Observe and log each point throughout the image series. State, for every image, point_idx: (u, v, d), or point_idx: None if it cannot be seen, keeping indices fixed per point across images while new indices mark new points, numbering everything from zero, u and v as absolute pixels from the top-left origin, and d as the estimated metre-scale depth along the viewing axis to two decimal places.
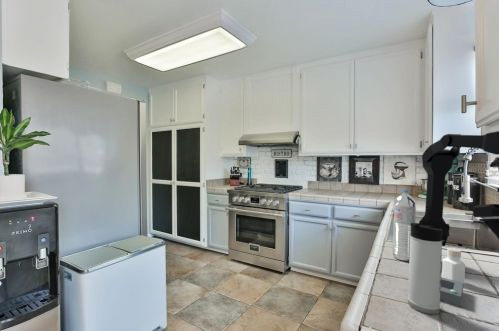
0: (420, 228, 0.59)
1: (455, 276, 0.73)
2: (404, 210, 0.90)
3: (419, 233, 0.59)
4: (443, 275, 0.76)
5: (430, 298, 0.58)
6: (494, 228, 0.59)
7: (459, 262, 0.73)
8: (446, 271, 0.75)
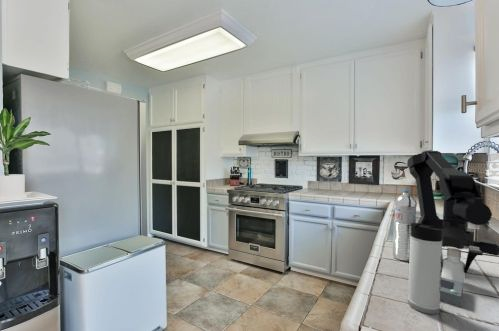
0: (420, 228, 0.59)
1: (455, 276, 0.73)
2: (405, 210, 0.90)
3: (419, 233, 0.59)
4: (443, 275, 0.76)
5: (430, 298, 0.58)
6: None
7: (459, 262, 0.73)
8: (446, 271, 0.75)
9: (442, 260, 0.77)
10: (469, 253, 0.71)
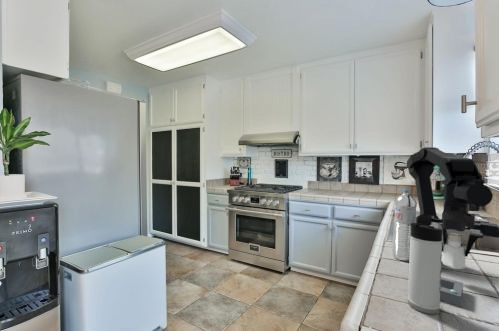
0: (420, 228, 0.59)
1: (456, 260, 0.73)
2: (405, 210, 0.90)
3: (419, 233, 0.59)
4: (444, 260, 0.76)
5: (430, 298, 0.58)
6: None
7: (460, 247, 0.73)
8: (447, 256, 0.75)
9: (443, 244, 0.77)
10: (470, 236, 0.71)
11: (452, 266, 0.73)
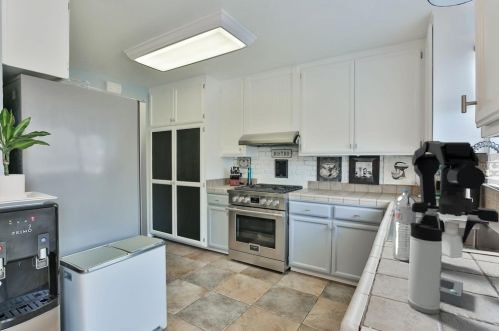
0: (420, 228, 0.59)
1: (454, 249, 0.70)
2: (405, 210, 0.90)
3: (419, 233, 0.59)
4: None
5: (430, 298, 0.58)
6: None
7: (457, 235, 0.71)
8: (444, 245, 0.72)
9: None
10: (467, 222, 0.68)
11: (449, 255, 0.71)
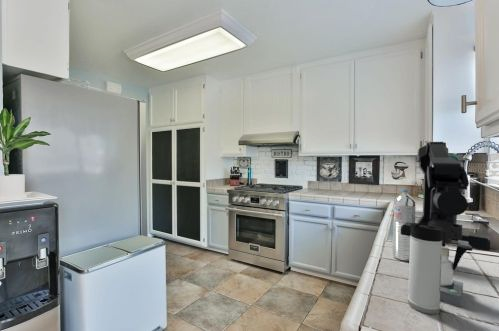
0: (420, 228, 0.59)
1: (443, 276, 0.66)
2: (404, 209, 0.90)
3: (419, 233, 0.59)
4: None
5: (430, 298, 0.58)
6: None
7: (447, 261, 0.67)
8: None
9: None
10: (457, 248, 0.64)
11: None
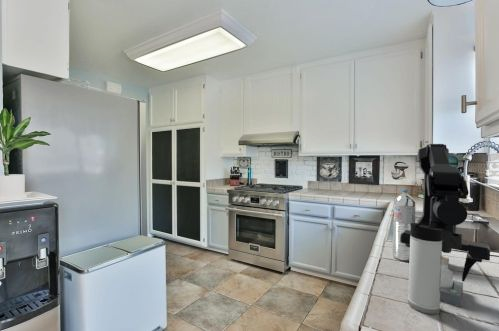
0: (420, 228, 0.59)
1: (443, 286, 0.66)
2: (404, 209, 0.90)
3: (419, 233, 0.59)
4: None
5: (430, 298, 0.58)
6: None
7: (447, 271, 0.67)
8: None
9: None
10: (467, 259, 0.63)
11: None
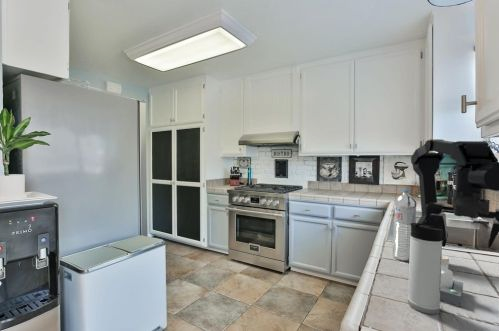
0: (420, 228, 0.59)
1: (443, 286, 0.66)
2: (405, 210, 0.90)
3: (419, 233, 0.59)
4: None
5: (430, 298, 0.58)
6: None
7: (447, 271, 0.67)
8: None
9: (446, 232, 0.73)
10: (494, 225, 0.65)
11: None
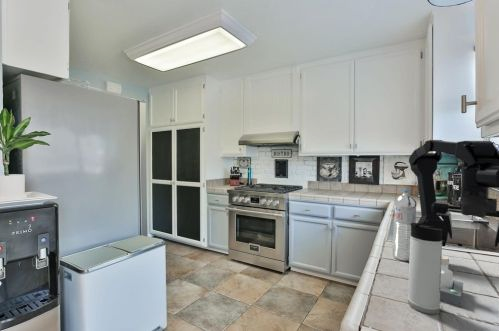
0: (420, 228, 0.59)
1: (443, 286, 0.66)
2: (405, 210, 0.90)
3: (419, 233, 0.59)
4: None
5: (430, 298, 0.58)
6: None
7: (447, 271, 0.67)
8: None
9: (452, 231, 0.74)
10: None
11: None
